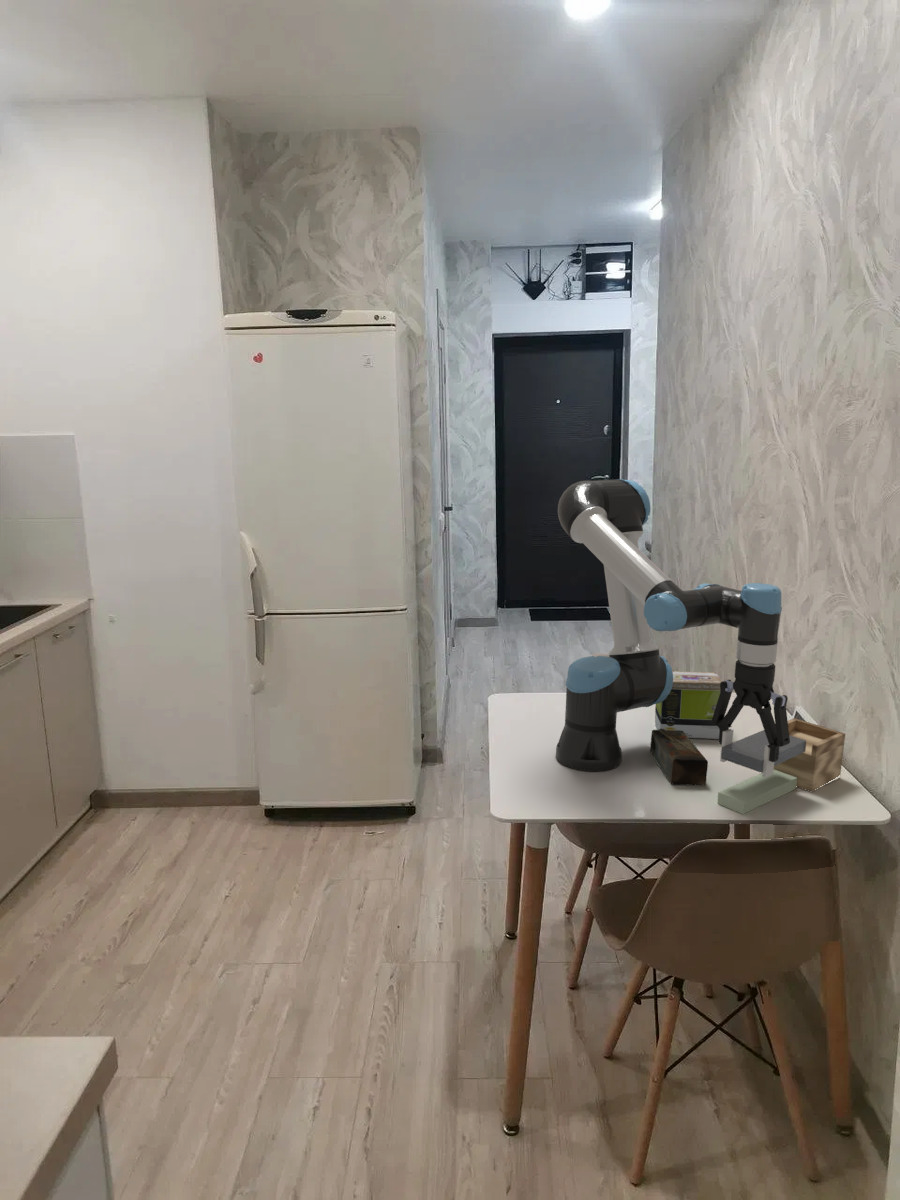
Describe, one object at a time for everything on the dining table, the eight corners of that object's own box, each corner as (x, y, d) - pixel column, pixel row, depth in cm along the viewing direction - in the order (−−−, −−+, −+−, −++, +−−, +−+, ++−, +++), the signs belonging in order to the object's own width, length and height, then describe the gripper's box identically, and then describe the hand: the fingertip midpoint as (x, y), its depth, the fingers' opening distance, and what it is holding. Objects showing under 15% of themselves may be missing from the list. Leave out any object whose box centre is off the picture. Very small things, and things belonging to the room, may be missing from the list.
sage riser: (742, 814, 173) (744, 802, 172) (717, 803, 177) (718, 792, 177) (796, 788, 185) (797, 777, 185) (770, 779, 190) (771, 768, 189)
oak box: (811, 792, 183) (816, 746, 181) (761, 773, 193) (765, 729, 190) (839, 778, 191) (845, 733, 189) (789, 760, 200) (794, 718, 198)
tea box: (712, 726, 221) (717, 671, 218) (720, 740, 212) (726, 683, 208) (653, 723, 223) (657, 668, 220) (658, 737, 213) (662, 680, 210)
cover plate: (760, 772, 171) (761, 760, 170) (721, 758, 178) (721, 747, 177) (805, 751, 181) (806, 740, 181) (766, 739, 188) (767, 728, 188)
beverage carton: (682, 752, 204) (684, 726, 203) (707, 787, 186) (710, 759, 184) (648, 752, 204) (650, 726, 203) (670, 787, 185) (673, 758, 184)
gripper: (817, 671, 165) (805, 780, 170) (719, 647, 182) (711, 747, 186) (796, 678, 161) (785, 790, 165) (698, 652, 177) (690, 755, 182)
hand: (746, 767), depth 176 cm, fingers closed on cover plate, 9 cm apart
